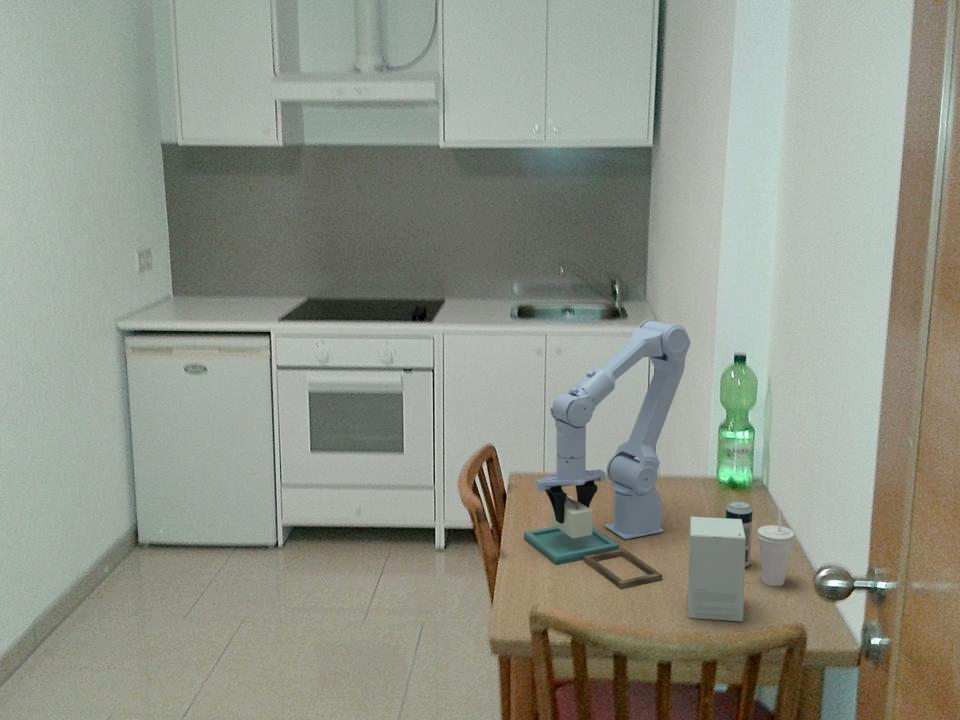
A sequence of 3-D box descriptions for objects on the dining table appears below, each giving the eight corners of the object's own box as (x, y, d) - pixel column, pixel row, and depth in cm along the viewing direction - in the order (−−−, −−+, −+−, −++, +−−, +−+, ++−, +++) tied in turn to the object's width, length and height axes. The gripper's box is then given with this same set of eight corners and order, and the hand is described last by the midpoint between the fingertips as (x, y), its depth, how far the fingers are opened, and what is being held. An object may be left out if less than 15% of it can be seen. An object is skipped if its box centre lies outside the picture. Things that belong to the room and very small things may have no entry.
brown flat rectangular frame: (623, 553, 184) (623, 548, 184) (662, 579, 172) (662, 574, 171) (583, 561, 180) (583, 556, 180) (620, 588, 168) (621, 583, 168)
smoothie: (793, 590, 166) (797, 516, 163) (756, 588, 168) (759, 514, 165) (789, 575, 172) (793, 503, 170) (753, 573, 174) (756, 501, 171)
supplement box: (740, 599, 164) (743, 517, 161) (743, 623, 155) (747, 537, 152) (687, 595, 165) (689, 514, 162) (687, 618, 157) (690, 534, 154)
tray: (584, 527, 197) (584, 521, 197) (619, 552, 184) (619, 544, 184) (524, 539, 191) (524, 532, 191) (556, 564, 179) (556, 557, 179)
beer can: (750, 560, 179) (753, 501, 177) (749, 570, 175) (752, 510, 172) (725, 557, 181) (727, 498, 178) (722, 567, 176) (725, 507, 174)
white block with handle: (570, 519, 192) (570, 490, 191) (592, 534, 184) (592, 505, 182) (551, 522, 190) (551, 494, 189) (572, 538, 182) (572, 508, 181)
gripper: (547, 465, 178) (547, 532, 180) (613, 455, 183) (612, 520, 186) (531, 455, 184) (531, 520, 187) (595, 445, 190) (594, 509, 192)
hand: (570, 519), depth 187 cm, fingers closed on white block with handle, 4 cm apart
